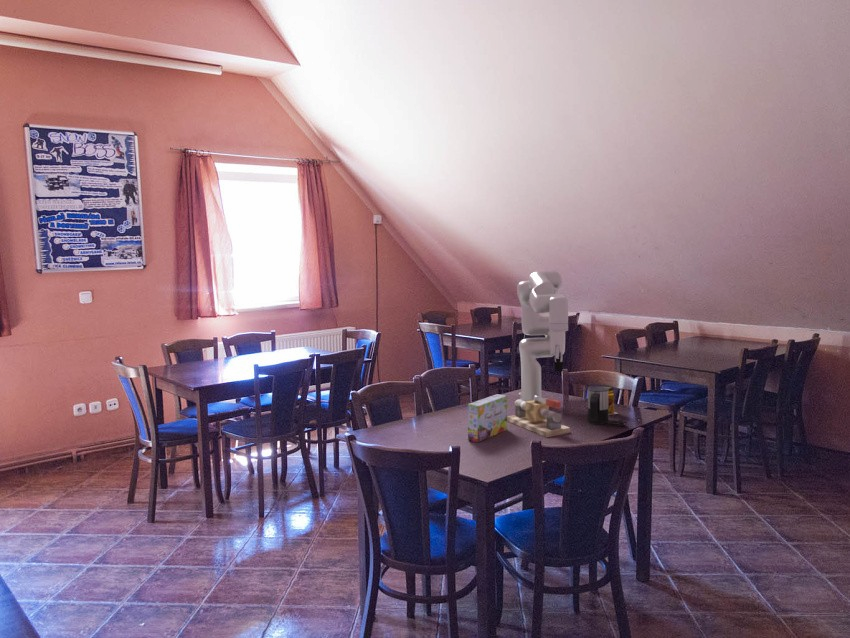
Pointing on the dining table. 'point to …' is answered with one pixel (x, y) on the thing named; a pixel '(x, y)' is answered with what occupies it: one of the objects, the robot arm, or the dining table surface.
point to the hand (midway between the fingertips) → (558, 371)
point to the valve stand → (538, 418)
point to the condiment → (610, 401)
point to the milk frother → (599, 406)
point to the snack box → (487, 417)
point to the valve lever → (548, 401)
